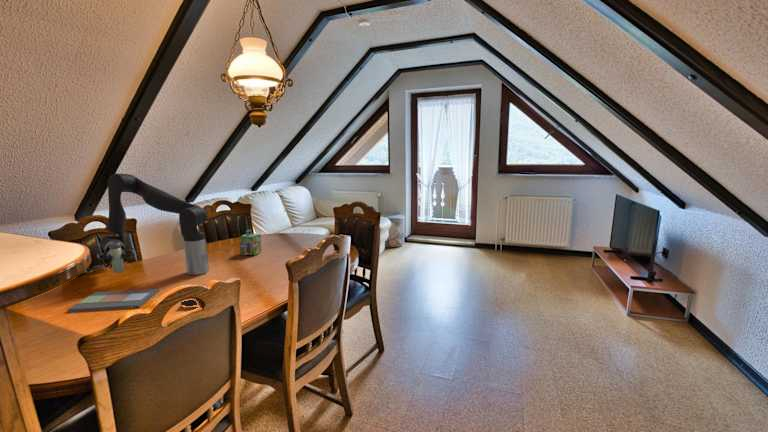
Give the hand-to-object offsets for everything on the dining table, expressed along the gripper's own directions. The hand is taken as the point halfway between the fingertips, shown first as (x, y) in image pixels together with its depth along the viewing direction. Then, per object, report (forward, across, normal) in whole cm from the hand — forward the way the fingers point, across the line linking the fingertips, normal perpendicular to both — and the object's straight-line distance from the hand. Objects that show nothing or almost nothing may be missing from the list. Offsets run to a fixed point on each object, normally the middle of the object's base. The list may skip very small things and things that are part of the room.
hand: (117, 257), depth 147 cm
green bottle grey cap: (-3, 0, +7) cm, 8 cm away
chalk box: (-16, +63, +14) cm, 66 cm away
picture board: (+16, -2, +14) cm, 22 cm away
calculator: (+40, +26, +15) cm, 49 cm away
